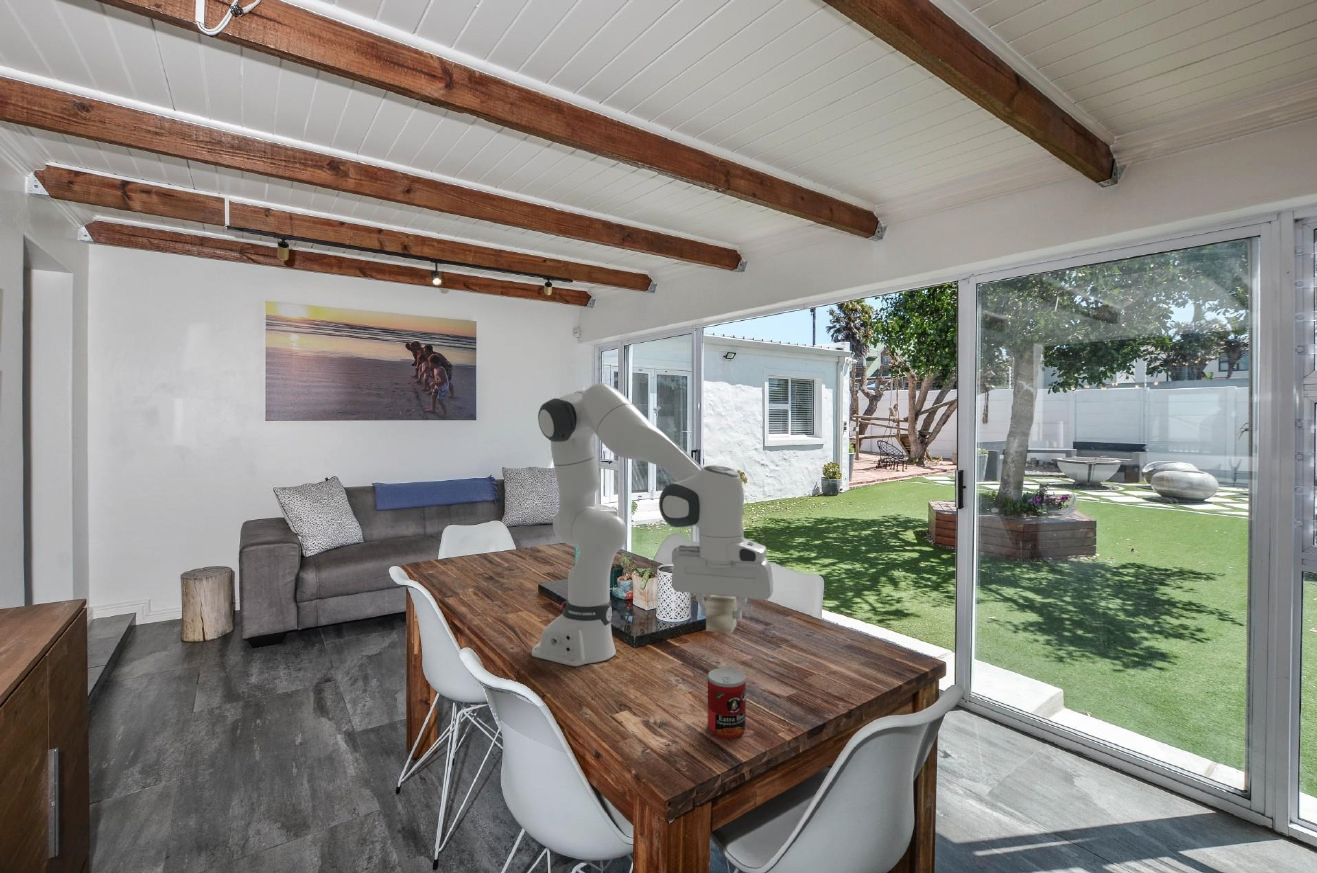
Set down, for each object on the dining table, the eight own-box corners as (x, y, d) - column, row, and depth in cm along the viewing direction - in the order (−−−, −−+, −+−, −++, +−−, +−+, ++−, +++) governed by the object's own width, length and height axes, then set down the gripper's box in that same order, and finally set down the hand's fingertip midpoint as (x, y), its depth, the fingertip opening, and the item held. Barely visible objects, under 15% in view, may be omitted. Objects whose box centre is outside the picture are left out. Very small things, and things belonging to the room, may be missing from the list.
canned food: (715, 742, 115) (716, 686, 115) (701, 722, 123) (702, 669, 123) (752, 736, 117) (752, 681, 117) (736, 717, 125) (736, 665, 125)
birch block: (706, 631, 117) (706, 600, 117) (712, 622, 122) (712, 593, 122) (731, 633, 116) (731, 603, 115) (736, 625, 120) (736, 596, 120)
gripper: (666, 547, 119) (667, 616, 119) (769, 554, 112) (769, 627, 112) (676, 541, 125) (676, 607, 125) (774, 548, 118) (774, 617, 118)
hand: (721, 616), depth 119 cm, fingers closed on birch block, 5 cm apart
